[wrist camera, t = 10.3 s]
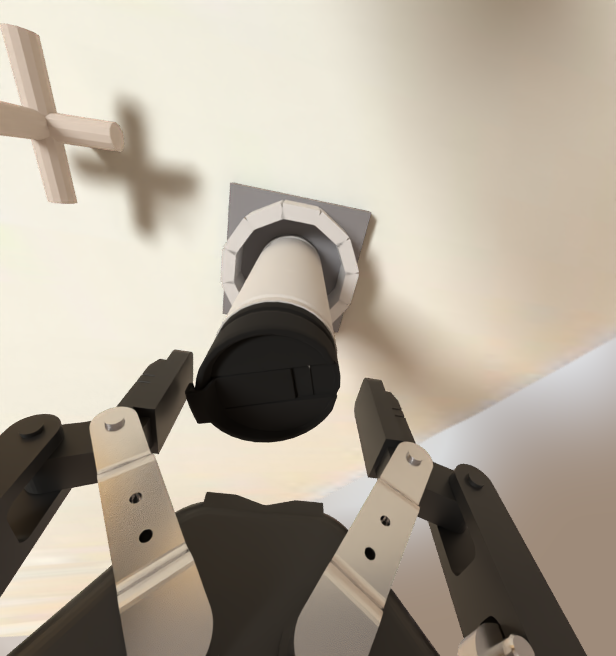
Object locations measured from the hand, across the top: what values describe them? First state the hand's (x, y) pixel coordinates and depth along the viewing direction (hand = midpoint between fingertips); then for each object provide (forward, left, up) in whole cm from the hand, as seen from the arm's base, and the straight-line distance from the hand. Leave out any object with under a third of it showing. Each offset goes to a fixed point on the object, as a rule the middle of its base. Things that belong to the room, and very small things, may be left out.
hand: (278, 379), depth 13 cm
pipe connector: (-8, -19, -20) cm, 28 cm away
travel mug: (0, 0, -18) cm, 18 cm away
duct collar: (0, 0, -19) cm, 19 cm away
